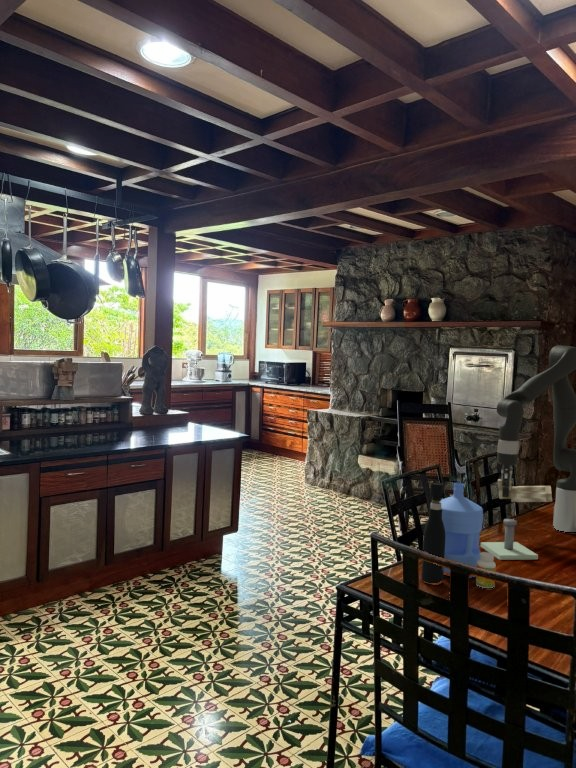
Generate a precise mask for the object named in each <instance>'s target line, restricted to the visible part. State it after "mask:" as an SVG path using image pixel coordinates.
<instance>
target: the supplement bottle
mask: <svg viewBox="0 0 576 768" xmlns="http://www.w3.org/2000/svg"><path fill="white" fill-rule="evenodd" d="M480 552H481V553H480V559H479V560H478V561H477V567H478V568H482V569H486V570H490V571H494V572H496V571H497V570H496V569H497V565H496V562H495V561H494V560H495V559H494V558H495V556H494V555H493V554H492V553H489V552H488V551H480ZM475 585H476V587H478V586H479V587H478V588H480V587H482V588H481V589H483V588H493V587H494V588H495V586H496V580H495V581H492V580H488V579H485V578H481V577H477V576H476V577H475ZM494 588H493V589H494Z"/></svg>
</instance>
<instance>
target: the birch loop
mask: <svg viewBox="0 0 576 768" xmlns="http://www.w3.org/2000/svg"><path fill="white" fill-rule="evenodd" d="M511 482H512V480H511V481H510V482H509V485H510V487H509V496H508V497H503V496H502V492H503V487H502V480H501V478H498V479H497V486H498V487H497V488H498V498H499V499H500V500H507V499H508V500H510V501H511V503H546V502H547V503H552V502H553V497H552V496H553V495H552V487H551V485H518V486H514V485H513V486H512V483H511ZM504 483H505V484H508V482H504Z"/></svg>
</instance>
